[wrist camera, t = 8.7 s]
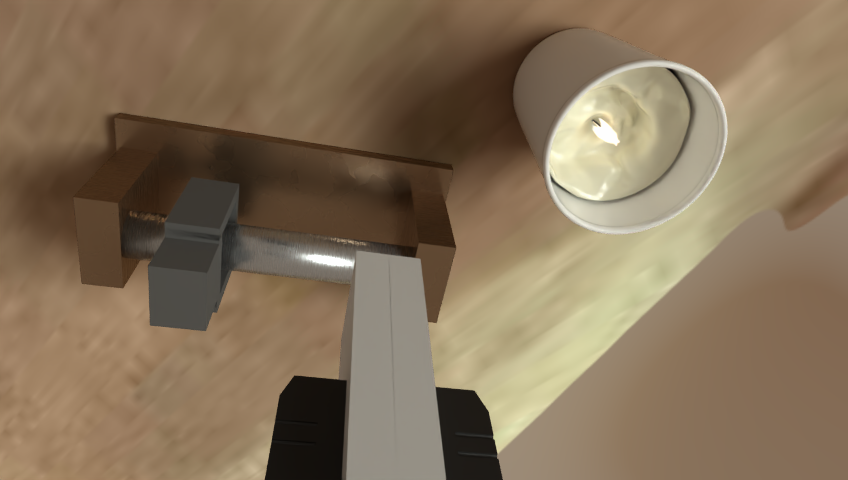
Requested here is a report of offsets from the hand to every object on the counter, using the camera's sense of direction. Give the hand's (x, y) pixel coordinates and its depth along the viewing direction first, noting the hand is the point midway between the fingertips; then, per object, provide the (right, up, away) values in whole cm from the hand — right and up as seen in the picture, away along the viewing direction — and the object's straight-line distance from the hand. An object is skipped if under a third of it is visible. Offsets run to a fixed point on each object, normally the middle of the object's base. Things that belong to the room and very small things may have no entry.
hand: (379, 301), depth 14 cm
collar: (-13, +3, +26) cm, 29 cm away
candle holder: (+11, +12, +28) cm, 32 cm away
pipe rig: (-9, +4, +30) cm, 32 cm away
